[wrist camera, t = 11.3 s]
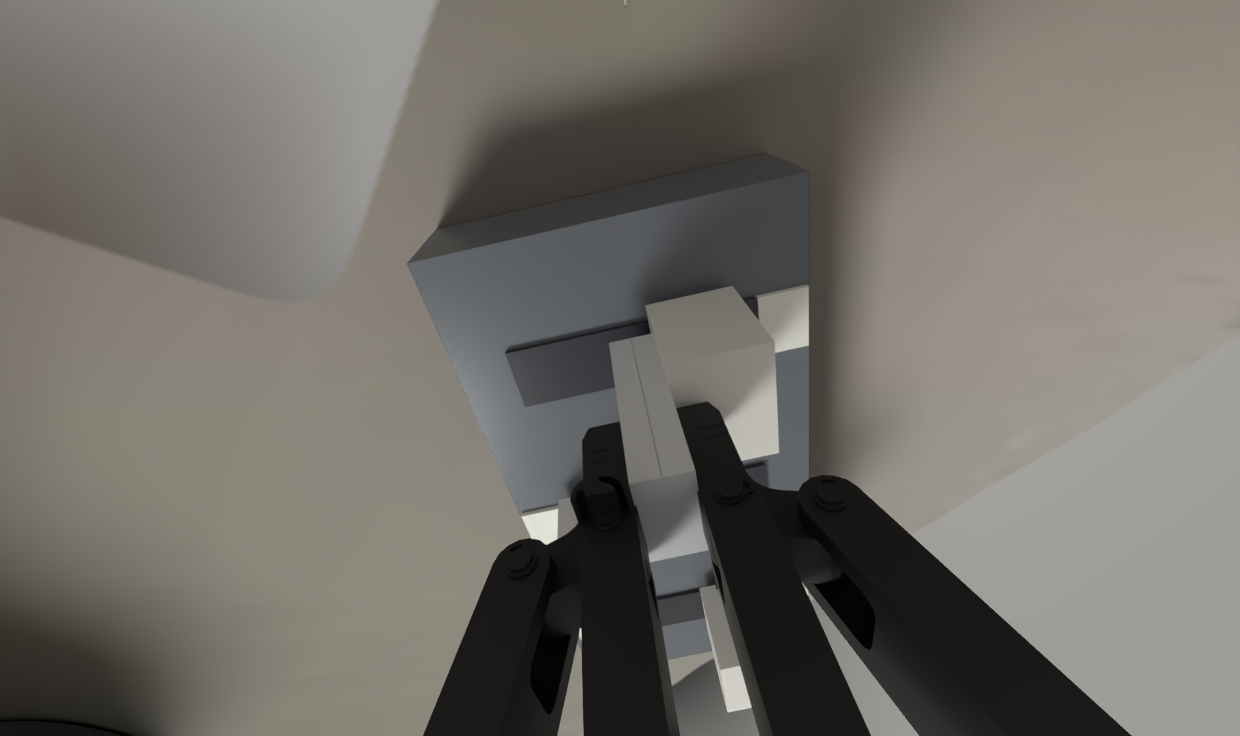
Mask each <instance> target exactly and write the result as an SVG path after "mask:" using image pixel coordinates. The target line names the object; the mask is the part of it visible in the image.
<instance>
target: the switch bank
mask: <svg viewBox="0 0 1240 736" xmlns="http://www.w3.org/2000/svg"><path fill="white" fill-rule="evenodd" d="M809 212H810V171H807V170H805V169H803V168H800V167H798V166H796V165H793V164H791V163H788V162H786V161H784V160H781V159H779V158H776V157H774V156H772V155H769V154H767V153H764V154H760V155H756V156H751V157H747V158H743V159H738V160H734V161H730V162H725V163H721V164H717V165H712V166H708V167H704V168H699V169H695V170H691V171H686V172H682V173H678V174H673V175H669V176H665V177H660V178H656V179H652V180H647V181H643V182H639V183H634V184H630V185H626V186H621V187H617V188H613V189H608V190H604V191H600V192H595V193H591V194H587V195H582V196H578V197H574V198H569V199H565V200H561V201H556V202H552V203H548V204H543V205H539V206H535V207H530V208H526V209H522V210H517V211H513V212H509V213H504V214H500V215H496V216H491V217H487V218H483V219H478V220H474V221H470V222H465V223H461V224H457V225H452V226H448V227H444V228H439V229H436V230H435V231H434V232H433V234H432V235H431V236H430V237H429V238H428V239H427V241H426V242H425V243H424V244H423V245H422V246H421V248H420V249H419V250H418V251H417V252H416V253H415V255H414V256H413V257H412V258H411V259H410V261H409V262H408V263H407V265H408V267H409V270H410V272H411V274H412V276H413V278H414V281H415V283H416V285H417V287H418V290H419V292H420V294H421V296H422V298H423V301H424V303H425V305H426V307H427V309H428V312H429V314H430V316H431V318H432V321H433V323H434V325H435V327H436V329H437V332H438V334H439V336H440V338H441V340H442V343H443V345H444V347H445V349H446V352H447V354H448V356H449V358H450V360H451V363H452V365H453V367H454V369H455V371H456V374H457V376H458V378H459V380H460V383H461V385H462V387H463V389H464V391H465V394H466V396H467V398H468V400H469V402H470V405H471V407H472V409H473V411H474V414H475V416H476V418H477V420H478V422H479V425H480V427H481V429H482V431H483V433H484V436H485V438H486V440H487V442H488V445H489V447H490V449H491V451H492V453H493V456H494V458H495V460H496V462H497V464H498V467H499V469H500V471H501V473H502V476H503V478H504V480H505V482H506V484H507V487H508V489H509V491H510V493H511V496H512V498H513V500H514V502H515V504H516V507H517V509H518V511H519V513H520V515H521V518H522V520H523V522H524V524H525V527H526V529H527V531H528V533H529V535H530V538H531V539H536V540H540V541H542V542H543V543H544V544H546V545H547V544H549V543H551V542H553V541H555V540H557V534H558V500H562V499H567V498H571V494H572V491H573V489H574V488H575V487H576V485H577V484H578V483H579V482H580V481H582V480H583V461H582V457H583V455H582V440H583V438H584V436H585V434H586V432H587V430H588V428H592V427H596V426H601V425H606V424H610V423H615V422H620V418H619V411H618V404H617V397H616V390H615V383H614V376H613V369H612V361H611V354H610V347H609V343H611V342H616V341H620V340H625V339H629V338H634V337H638V336H643V335H647V334H651V333H650V328H649V323H648V318H647V313H646V307H645V305H649V304H653V303H658V302H662V301H667V300H671V299H676V298H680V297H685V296H689V295H694V294H698V293H703V292H707V291H712V290H716V289H720V288H725V287H729V286H733V287H734V288H735V290H736V291H737V292H738V294H739V295H740V296H741V298H742V299H743V300H744V302H745V303H746V304H747V306H748V307H749V308H750V310H751V311H752V312H753V314H754V315H755V316H756V318H757V319H758V320H759V322H760V323H761V324H762V326H763V327H764V328H765V330H766V331H767V332H768V334H769V335H770V336H771V338H772V339H773V340H774V342H775V362H776V387H777V412H778V436H779V453H776V454H772V455H767V456H762V457H758V458H753V459H748V460H743V461H742V463H743V465H744V468H745V470H746V472H747V473H748V475H749V476H750V477H751V478H752V479H753V480H754V481H755V482H757V483H759V484H760V485H762V486H765V487H768V488H771V489H778V490H792V491H799V489H800V487H801V485H802V484H803V483H804V482H806V481H807V480H809ZM650 566H651V572H652V575H653V579H654V583H655V589H656V595H657V601H658V607H659V613H660V619H661V625H662V631H663V637H664V643H665V649H666V655H667V660H669V659H674V658H679V657H684V656H689V655H694V654H699V653H704V652H709V651H712V646H711V642H710V638H709V634H708V630H707V625H706V619H705V614H704V609H703V604H702V598H701V593H700V588H702V587H707V586H712V585H715V579H714V573H713V567H712V561H711V556H710V552H709V549H708V550H707V551H703V552H698V553H693V554H688V555H683V556H678V557H673V558H669V559H664V560H659V561H654V562H650ZM802 584H803V582H802ZM803 586H804V584H803ZM804 588H805V590H806V593H807V595H808V597H809V591H808V589H807V588H806V587H805V586H804ZM577 642H578V644H579V646H580V648H581V651H582V641H581V639H580V637H579V636H578V641H577Z"/></svg>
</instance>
